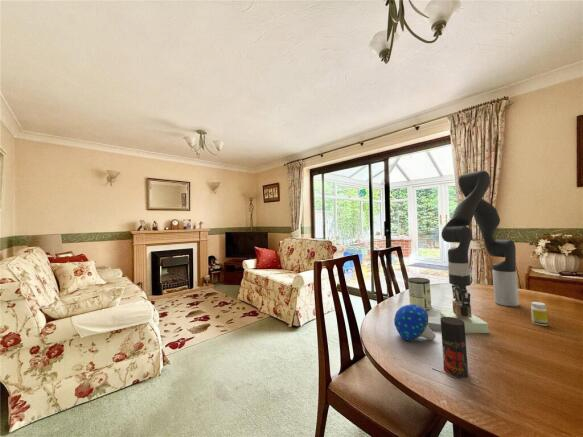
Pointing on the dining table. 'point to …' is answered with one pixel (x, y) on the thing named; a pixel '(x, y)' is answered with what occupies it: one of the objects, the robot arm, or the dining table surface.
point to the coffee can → (420, 292)
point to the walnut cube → (458, 309)
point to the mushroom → (413, 323)
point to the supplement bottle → (539, 314)
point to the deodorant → (454, 347)
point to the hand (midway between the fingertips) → (462, 313)
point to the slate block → (434, 323)
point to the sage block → (469, 323)
